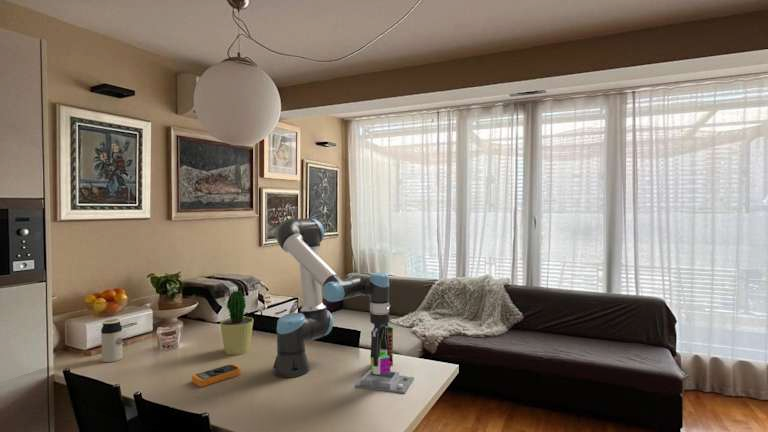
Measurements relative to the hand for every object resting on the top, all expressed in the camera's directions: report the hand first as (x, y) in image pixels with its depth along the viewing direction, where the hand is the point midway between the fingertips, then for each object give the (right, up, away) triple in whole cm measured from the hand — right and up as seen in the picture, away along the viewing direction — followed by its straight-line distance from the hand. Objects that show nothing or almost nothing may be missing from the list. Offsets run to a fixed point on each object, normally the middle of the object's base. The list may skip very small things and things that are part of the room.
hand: (380, 369), depth 170 cm
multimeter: (-67, -6, +5) cm, 67 cm away
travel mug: (-124, -5, +27) cm, 127 cm away
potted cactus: (-70, -5, +38) cm, 79 cm away
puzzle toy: (0, 0, 0) cm, 0 cm away
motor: (+1, -5, +19) cm, 19 cm away
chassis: (+2, -5, -1) cm, 6 cm away
